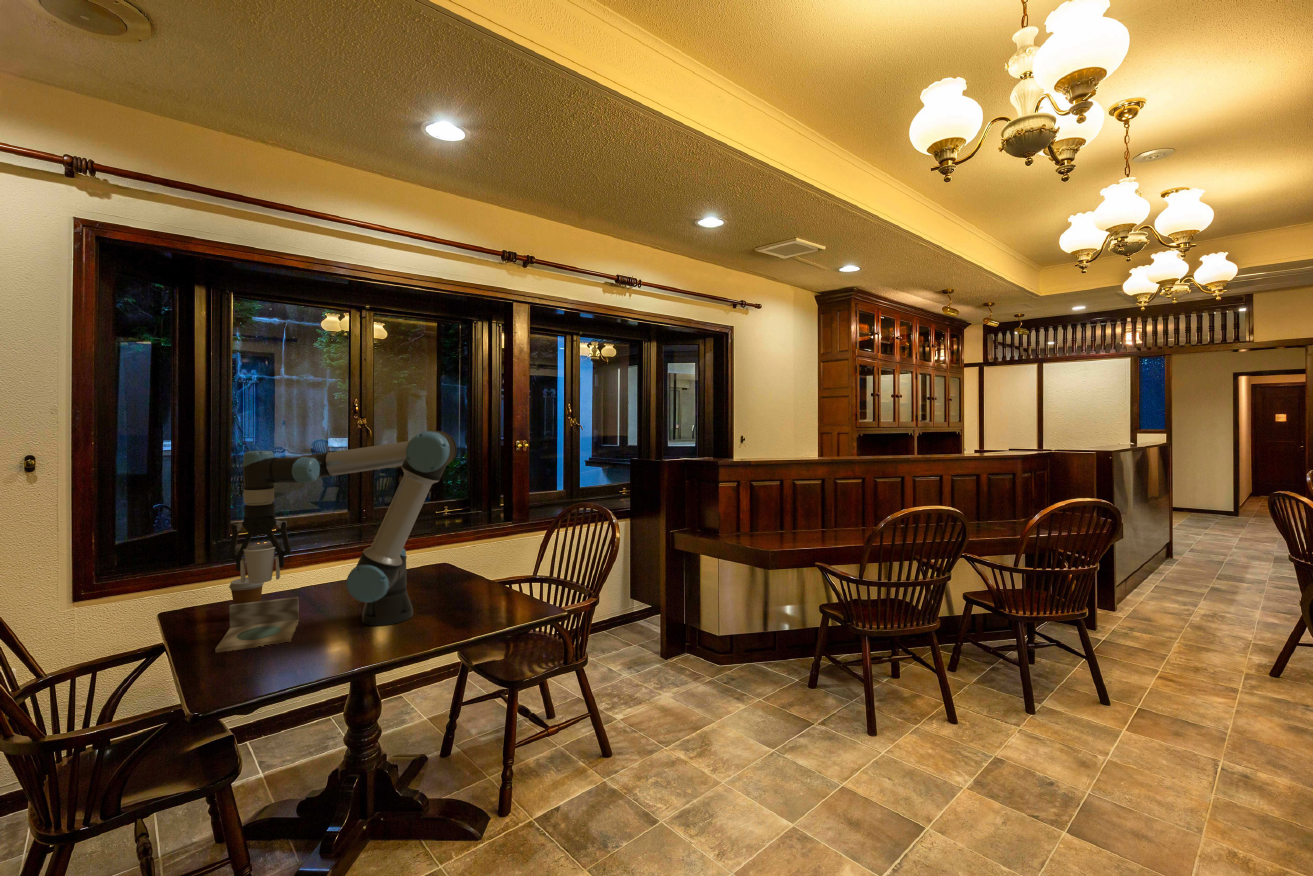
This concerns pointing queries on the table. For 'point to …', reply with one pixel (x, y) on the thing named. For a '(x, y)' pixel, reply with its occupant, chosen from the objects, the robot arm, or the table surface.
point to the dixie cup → (259, 562)
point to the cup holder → (260, 624)
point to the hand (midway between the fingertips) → (260, 579)
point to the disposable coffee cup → (245, 591)
